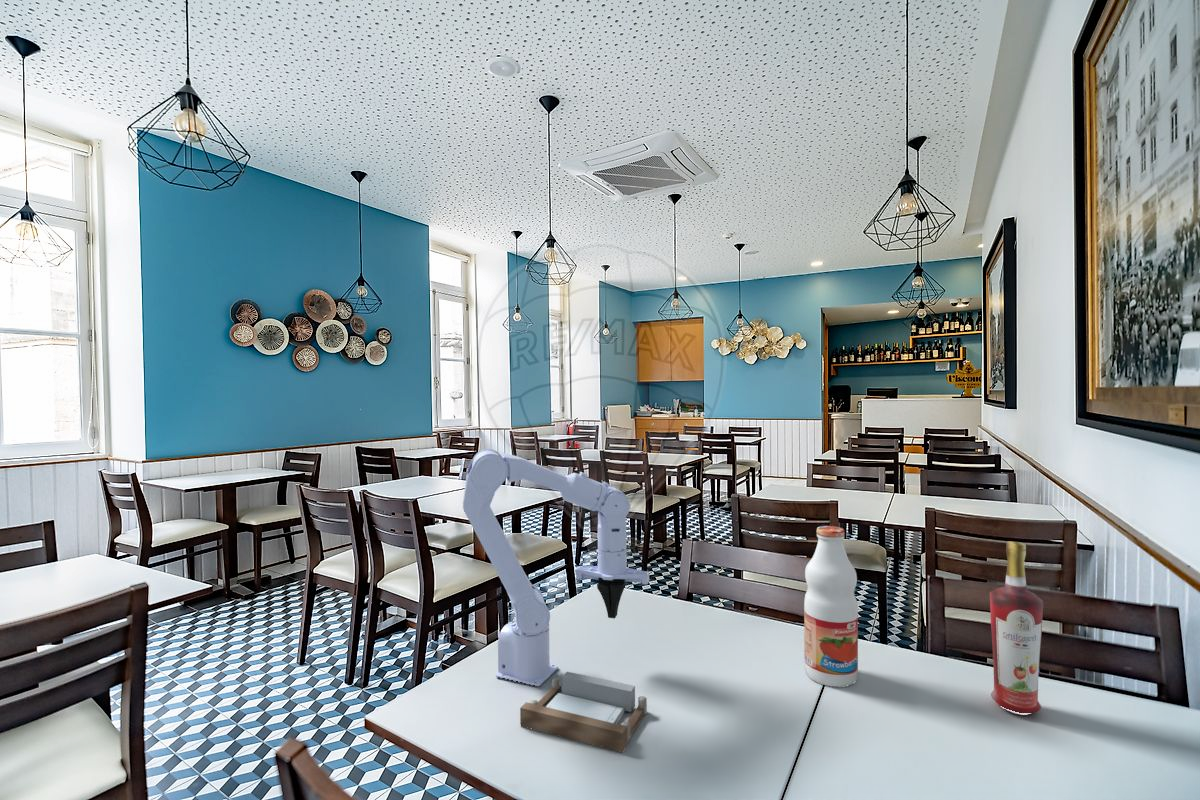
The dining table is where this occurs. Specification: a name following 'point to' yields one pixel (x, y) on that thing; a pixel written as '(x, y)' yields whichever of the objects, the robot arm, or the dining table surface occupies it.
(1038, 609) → the liquor
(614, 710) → the hard drive
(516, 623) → the robot arm
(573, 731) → the dock
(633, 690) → the grey rectangular beam
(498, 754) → the dining table surface
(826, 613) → the fruit juice
